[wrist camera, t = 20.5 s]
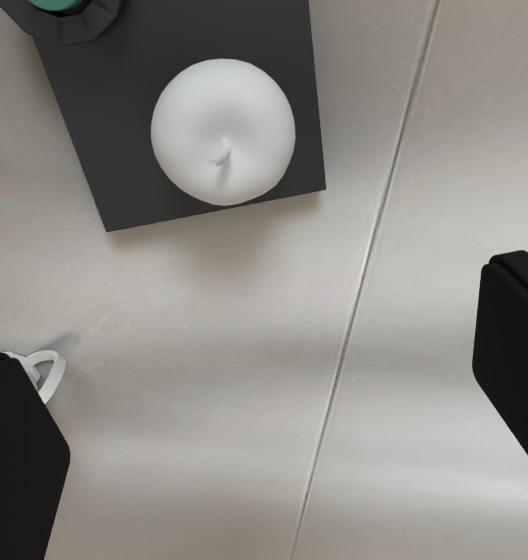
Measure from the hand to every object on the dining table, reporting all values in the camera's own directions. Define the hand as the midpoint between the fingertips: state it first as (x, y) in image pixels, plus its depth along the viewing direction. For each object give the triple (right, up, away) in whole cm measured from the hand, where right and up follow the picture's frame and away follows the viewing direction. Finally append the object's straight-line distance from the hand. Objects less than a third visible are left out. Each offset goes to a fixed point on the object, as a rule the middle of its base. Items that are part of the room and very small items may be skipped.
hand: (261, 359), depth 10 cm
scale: (-4, +14, +17) cm, 22 cm away
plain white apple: (-2, +11, +18) cm, 21 cm away
